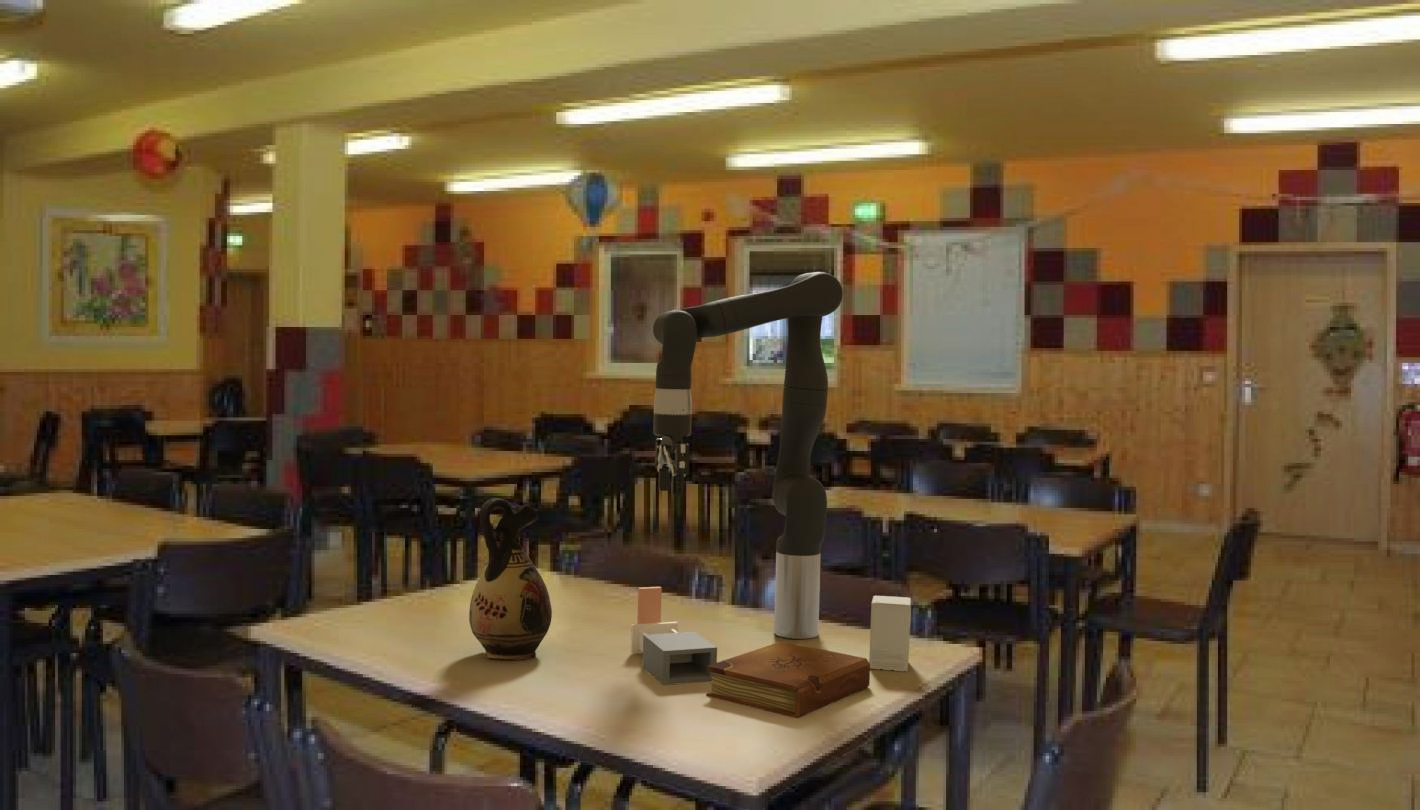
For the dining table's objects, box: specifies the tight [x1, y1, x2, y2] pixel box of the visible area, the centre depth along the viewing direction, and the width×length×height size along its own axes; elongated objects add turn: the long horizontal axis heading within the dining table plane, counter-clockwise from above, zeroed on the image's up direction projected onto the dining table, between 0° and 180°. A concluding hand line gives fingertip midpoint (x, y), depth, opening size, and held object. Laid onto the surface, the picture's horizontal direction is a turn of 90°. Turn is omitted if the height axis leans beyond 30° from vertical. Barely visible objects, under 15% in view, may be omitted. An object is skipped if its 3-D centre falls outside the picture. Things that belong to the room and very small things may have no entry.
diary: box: [705, 641, 871, 719], centre depth 201 cm, size 23×19×6 cm
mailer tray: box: [630, 586, 692, 663], centre depth 220 cm, size 9×17×12 cm, turn 20°
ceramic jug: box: [468, 497, 553, 661], centre depth 220 cm, size 17×15×30 cm
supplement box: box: [868, 595, 912, 672], centre depth 220 cm, size 7×7×13 cm
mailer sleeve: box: [642, 631, 718, 686], centre depth 211 cm, size 10×12×6 cm
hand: (670, 493), depth 232 cm, fingers open, 8 cm apart
